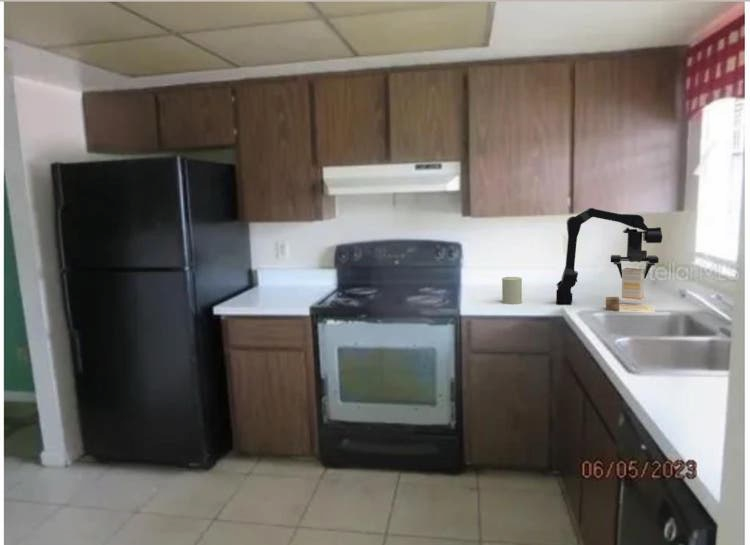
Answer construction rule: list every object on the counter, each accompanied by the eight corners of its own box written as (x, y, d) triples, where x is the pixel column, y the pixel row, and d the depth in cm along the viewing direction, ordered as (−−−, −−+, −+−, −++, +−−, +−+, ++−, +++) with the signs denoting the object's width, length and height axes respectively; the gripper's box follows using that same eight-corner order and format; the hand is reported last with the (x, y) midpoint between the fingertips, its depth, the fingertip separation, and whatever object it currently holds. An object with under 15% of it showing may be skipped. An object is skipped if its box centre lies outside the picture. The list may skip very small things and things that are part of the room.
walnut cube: (606, 310, 226) (606, 299, 225) (605, 308, 231) (605, 297, 230) (619, 310, 224) (619, 299, 223) (618, 308, 229) (618, 296, 228)
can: (508, 299, 257) (508, 275, 256) (525, 301, 251) (525, 276, 249) (498, 302, 251) (498, 277, 249) (515, 305, 244) (515, 279, 243)
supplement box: (644, 297, 234) (645, 268, 232) (640, 300, 231) (641, 270, 228) (625, 295, 240) (625, 267, 237) (621, 298, 236) (621, 269, 234)
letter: (618, 311, 223) (618, 311, 223) (615, 304, 238) (615, 303, 238) (655, 313, 218) (655, 312, 218) (650, 305, 233) (650, 304, 233)
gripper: (612, 244, 228) (610, 280, 230) (661, 245, 221) (659, 282, 223) (610, 242, 238) (609, 276, 240) (657, 242, 231) (656, 278, 233)
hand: (633, 278), depth 234 cm, fingers closed on supplement box, 9 cm apart
